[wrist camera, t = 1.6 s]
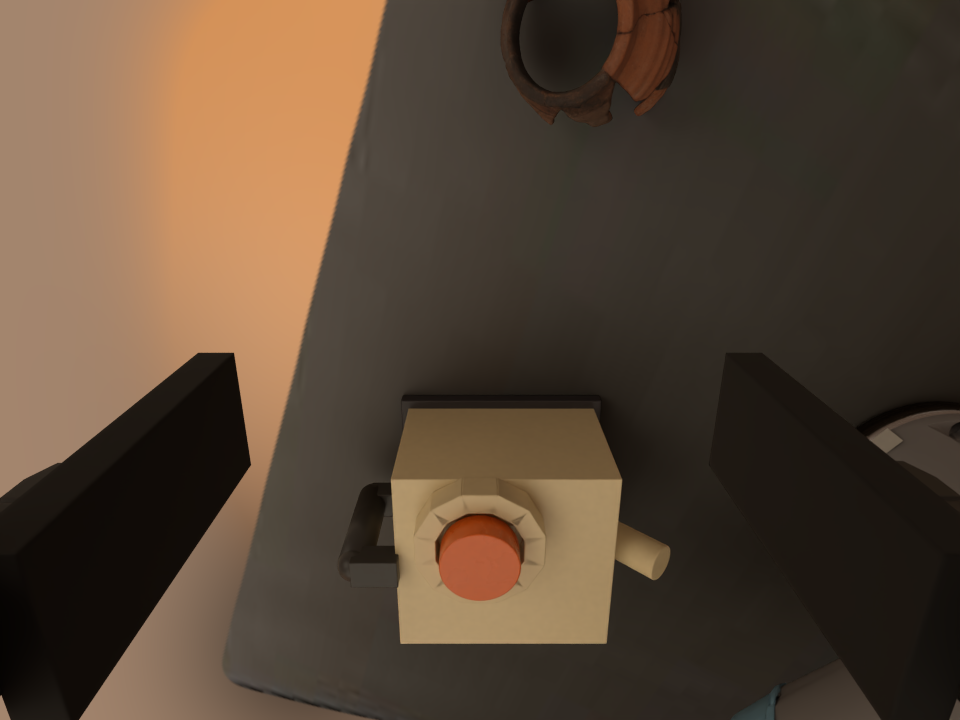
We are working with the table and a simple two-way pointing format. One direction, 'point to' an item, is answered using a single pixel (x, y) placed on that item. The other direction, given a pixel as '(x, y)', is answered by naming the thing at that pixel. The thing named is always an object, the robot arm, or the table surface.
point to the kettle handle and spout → (359, 550)
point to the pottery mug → (631, 63)
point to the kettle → (508, 522)
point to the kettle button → (479, 558)
